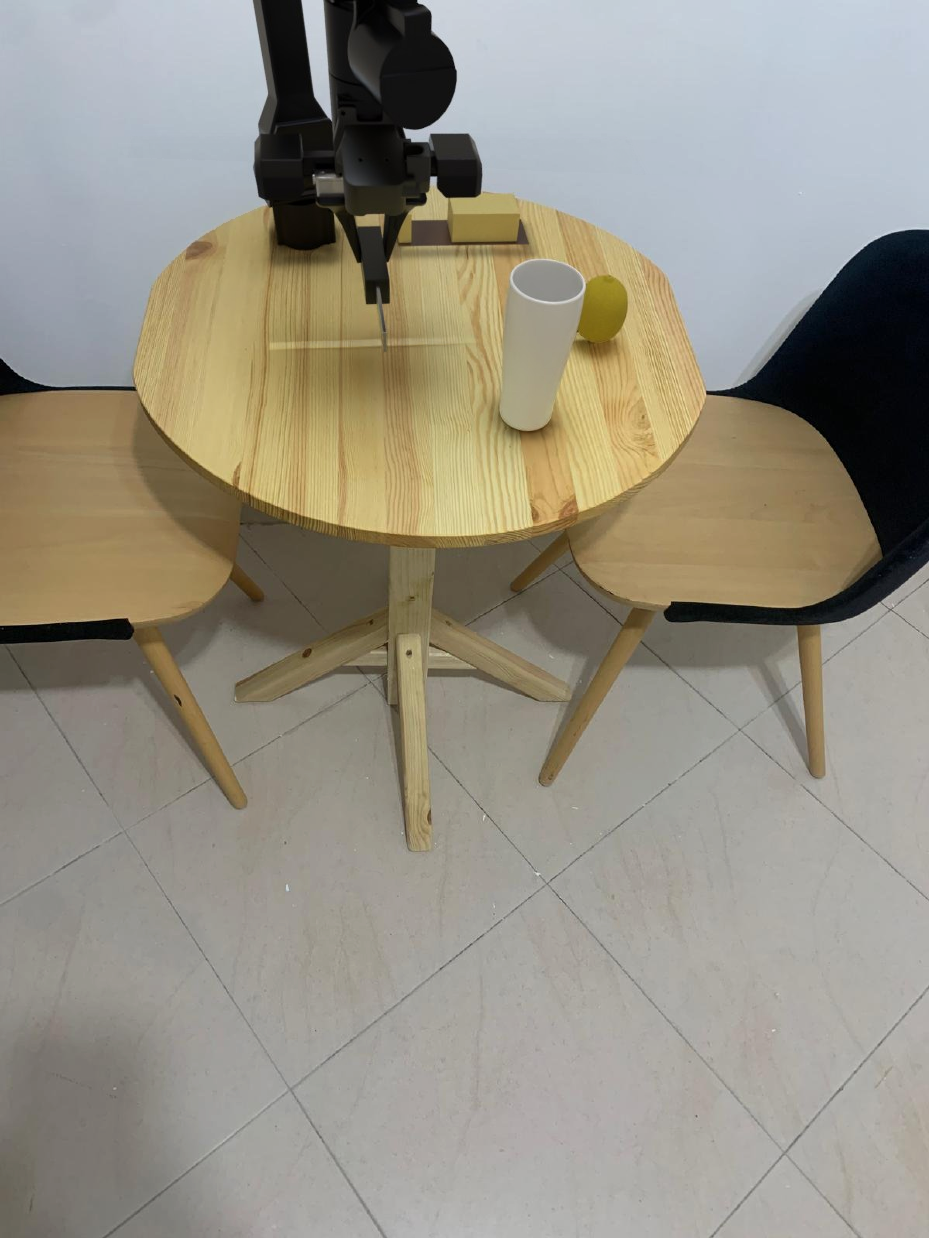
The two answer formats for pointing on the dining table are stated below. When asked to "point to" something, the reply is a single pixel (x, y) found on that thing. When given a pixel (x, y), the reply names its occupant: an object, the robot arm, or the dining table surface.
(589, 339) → the lemon
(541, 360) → the drinking glass
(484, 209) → the butter stick
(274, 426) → the dining table surface
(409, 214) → the butter slice
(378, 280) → the knife
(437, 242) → the board
